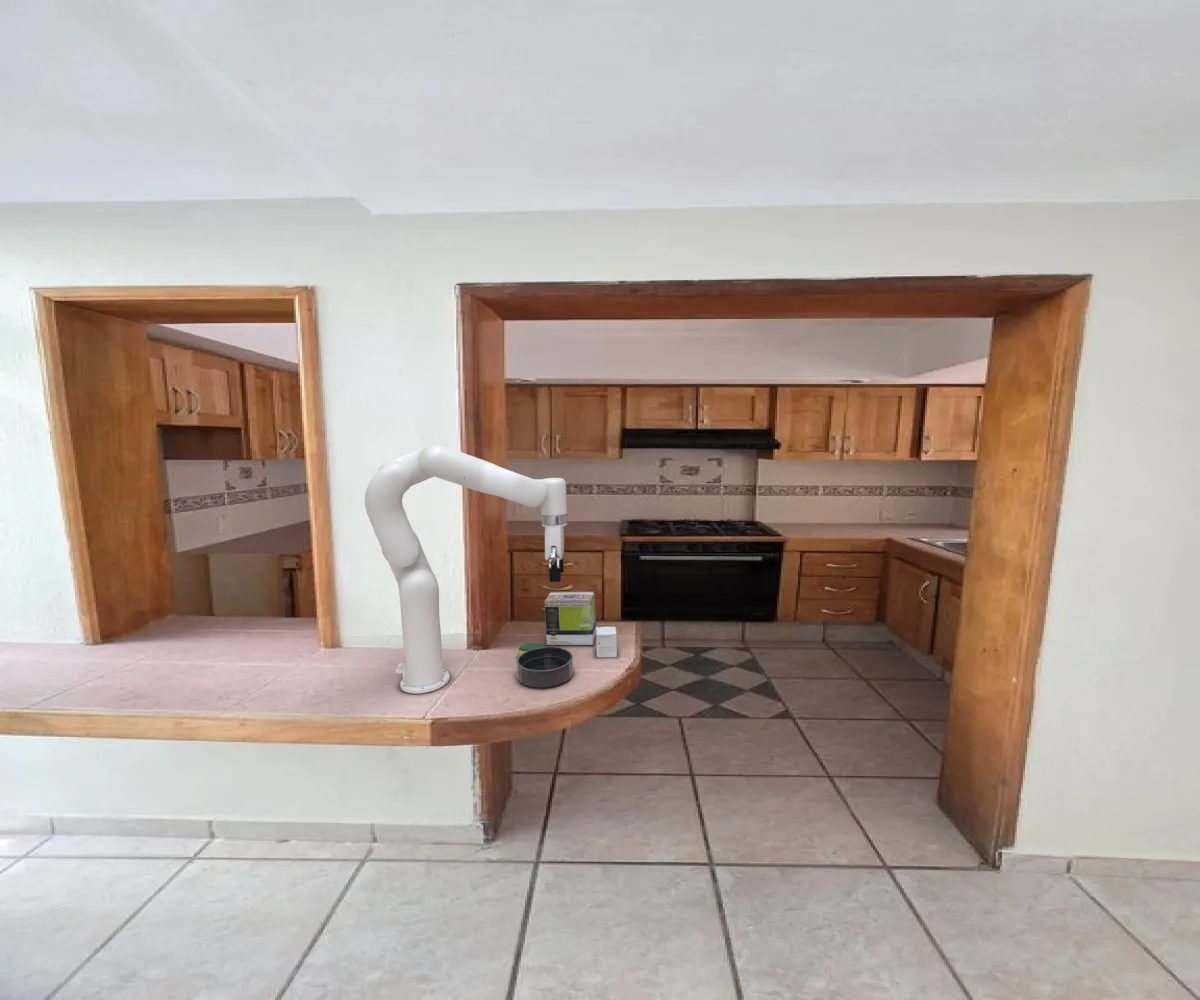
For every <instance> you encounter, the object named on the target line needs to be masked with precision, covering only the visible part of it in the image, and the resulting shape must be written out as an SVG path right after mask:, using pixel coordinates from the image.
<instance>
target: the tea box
mask: <svg viewBox="0 0 1200 1000" xmlns="http://www.w3.org/2000/svg"><path fill="white" fill-rule="evenodd" d="M595 597H596V596H595V591H550V592H549V593H548V595H547V596H546V598H545V599H544V602H543V603H544V621H545V622H544V624H545V637H546V639H545V640H546V645H547V646H593V645H594V642H595V640H596V627H597V620H596V618H597V617H596V600H595Z"/></svg>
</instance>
